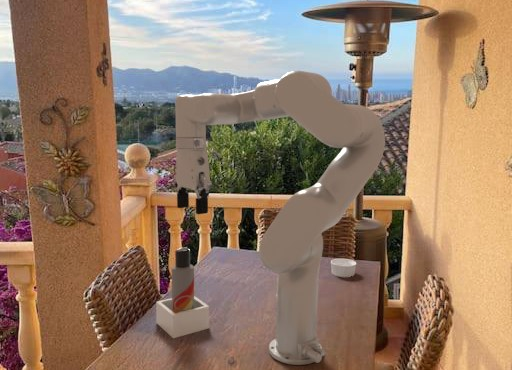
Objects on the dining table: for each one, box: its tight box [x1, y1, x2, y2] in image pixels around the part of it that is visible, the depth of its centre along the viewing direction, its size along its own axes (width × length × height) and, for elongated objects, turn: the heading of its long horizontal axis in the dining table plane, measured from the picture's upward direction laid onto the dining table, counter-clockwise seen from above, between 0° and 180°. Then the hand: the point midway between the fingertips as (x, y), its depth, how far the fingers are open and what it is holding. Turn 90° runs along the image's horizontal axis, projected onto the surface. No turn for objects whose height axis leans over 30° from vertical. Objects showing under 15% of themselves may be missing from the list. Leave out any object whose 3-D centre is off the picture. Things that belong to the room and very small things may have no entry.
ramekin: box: [330, 258, 357, 278], centre depth 167 cm, size 9×9×4 cm
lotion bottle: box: [171, 247, 195, 313], centre depth 124 cm, size 6×6×20 cm
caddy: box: [155, 295, 210, 339], centre depth 125 cm, size 10×10×6 cm
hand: (192, 210), depth 124 cm, fingers open, 9 cm apart
